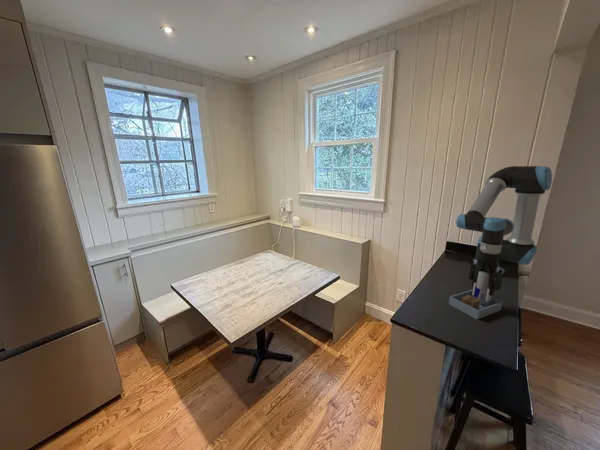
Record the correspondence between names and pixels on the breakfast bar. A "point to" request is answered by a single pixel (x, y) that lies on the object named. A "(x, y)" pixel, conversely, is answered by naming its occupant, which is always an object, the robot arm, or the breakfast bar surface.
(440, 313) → the breakfast bar surface
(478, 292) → the beverage can
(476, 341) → the breakfast bar surface
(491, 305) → the tote
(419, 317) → the breakfast bar surface
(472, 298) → the walnut cube
